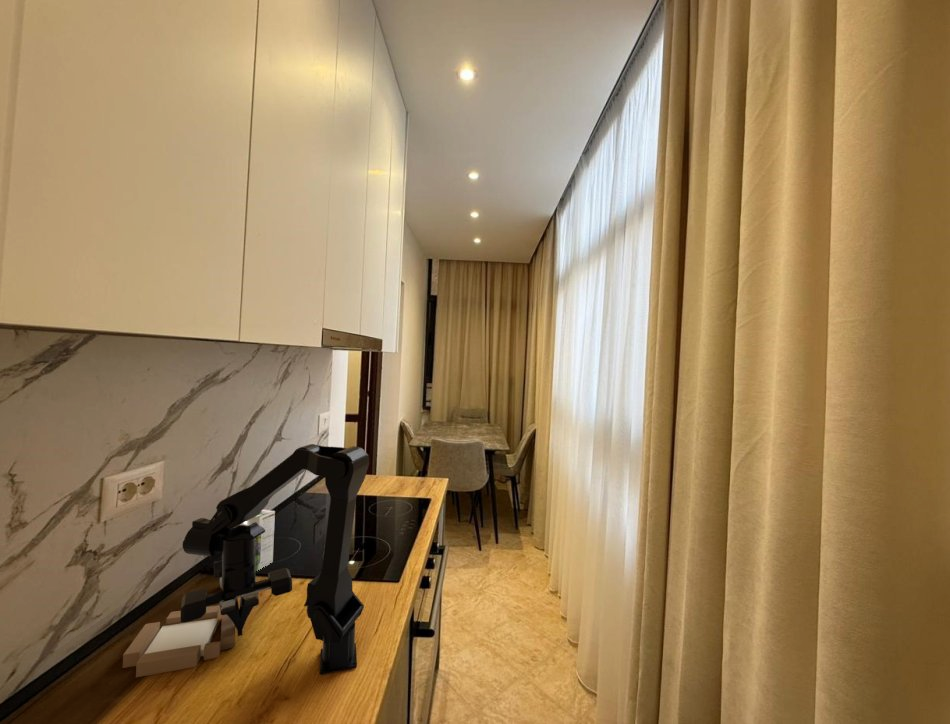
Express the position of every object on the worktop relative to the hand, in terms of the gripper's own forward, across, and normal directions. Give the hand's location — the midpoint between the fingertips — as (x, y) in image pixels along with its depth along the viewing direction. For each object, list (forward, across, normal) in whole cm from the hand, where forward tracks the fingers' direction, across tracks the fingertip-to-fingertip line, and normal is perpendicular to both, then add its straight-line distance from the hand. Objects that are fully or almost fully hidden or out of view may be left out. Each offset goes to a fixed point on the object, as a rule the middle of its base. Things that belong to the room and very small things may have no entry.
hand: (239, 634), depth 81 cm
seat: (+1, +10, -4) cm, 10 cm away
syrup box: (+2, -6, -32) cm, 32 cm away
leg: (+1, +2, -4) cm, 4 cm away
